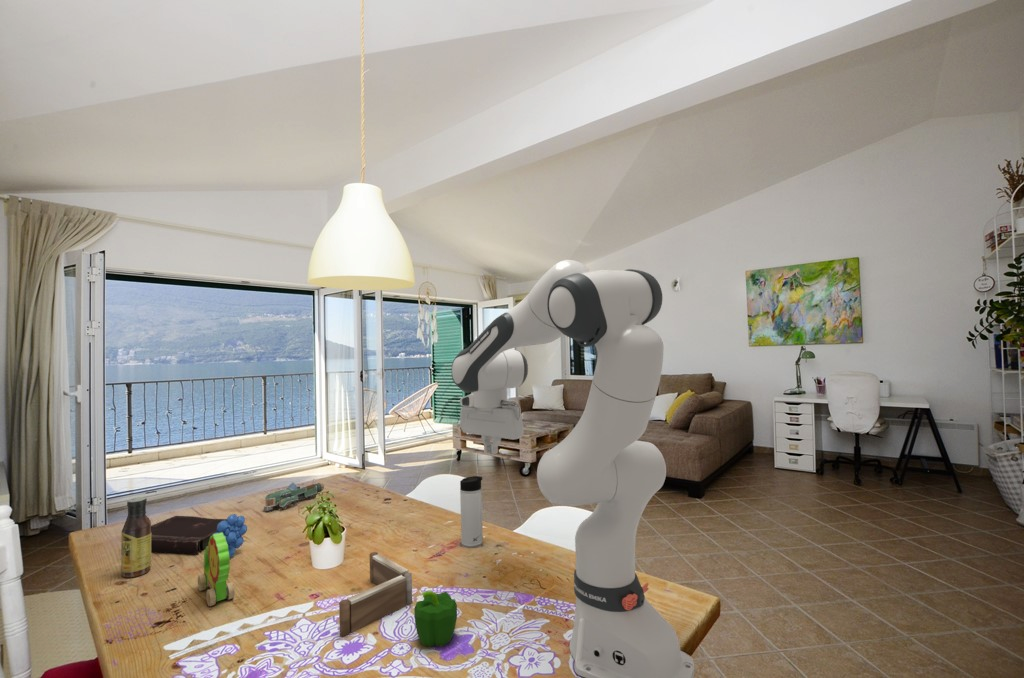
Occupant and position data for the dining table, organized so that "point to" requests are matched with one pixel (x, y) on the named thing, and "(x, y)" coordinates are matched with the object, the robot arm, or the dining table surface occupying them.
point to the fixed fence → (374, 604)
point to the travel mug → (471, 512)
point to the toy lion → (216, 570)
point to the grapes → (233, 532)
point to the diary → (182, 535)
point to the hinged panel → (384, 569)
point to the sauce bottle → (136, 540)
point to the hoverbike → (291, 495)
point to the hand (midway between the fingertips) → (491, 453)
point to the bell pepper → (435, 618)
